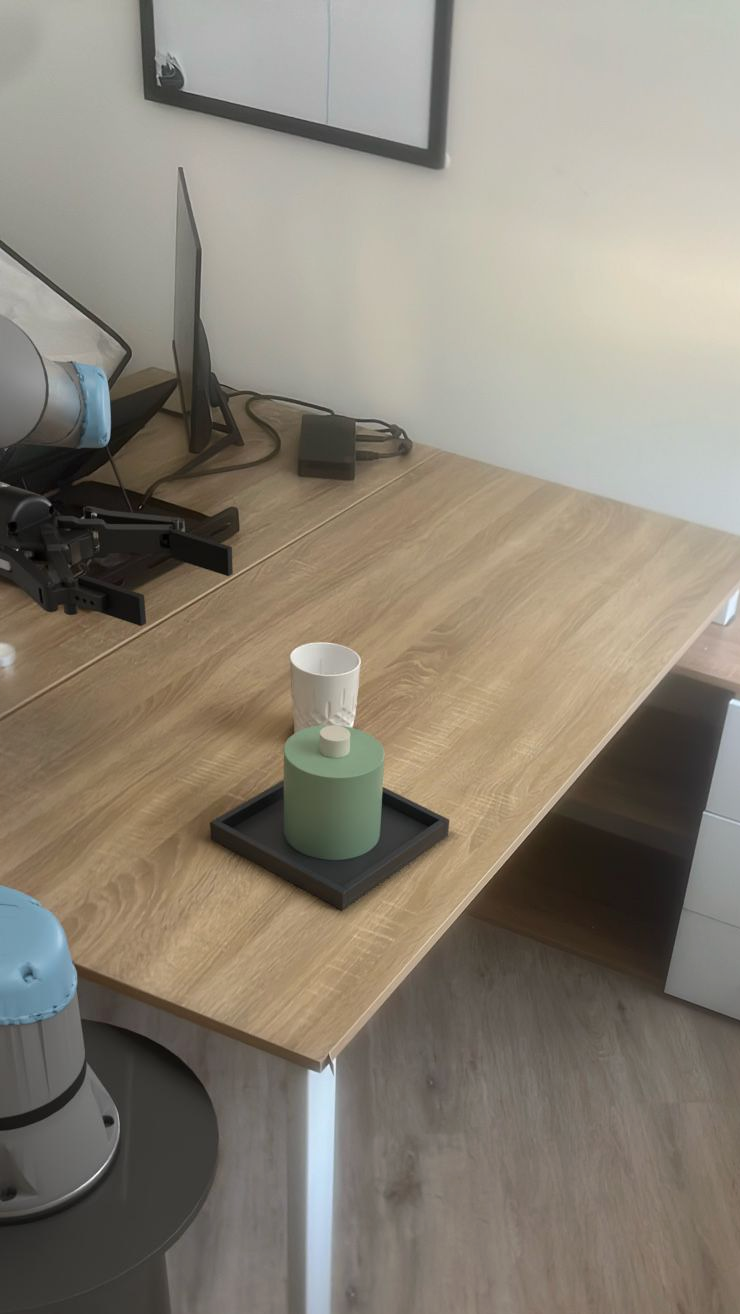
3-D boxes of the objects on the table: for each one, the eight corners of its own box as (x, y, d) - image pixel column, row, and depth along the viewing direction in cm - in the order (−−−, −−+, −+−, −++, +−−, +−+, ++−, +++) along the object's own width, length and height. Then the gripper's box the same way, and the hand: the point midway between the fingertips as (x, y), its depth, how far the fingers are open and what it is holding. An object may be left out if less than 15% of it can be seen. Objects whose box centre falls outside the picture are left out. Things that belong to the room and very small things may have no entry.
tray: (342, 910, 125) (342, 893, 124) (210, 838, 131) (209, 821, 130) (448, 835, 137) (449, 819, 136) (322, 773, 143) (323, 757, 142)
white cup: (312, 759, 145) (313, 681, 139) (276, 727, 149) (276, 650, 143) (370, 743, 149) (374, 666, 143) (334, 712, 154) (336, 636, 147)
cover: (337, 872, 129) (341, 771, 121) (263, 832, 132) (262, 732, 125) (399, 831, 136) (405, 733, 128) (326, 794, 139) (329, 697, 131)
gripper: (90, 524, 134) (263, 579, 129) (-89, 605, 116) (105, 673, 111) (83, 452, 130) (262, 506, 125) (-105, 525, 111) (97, 592, 106)
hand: (188, 585), depth 118 cm, fingers open, 13 cm apart
